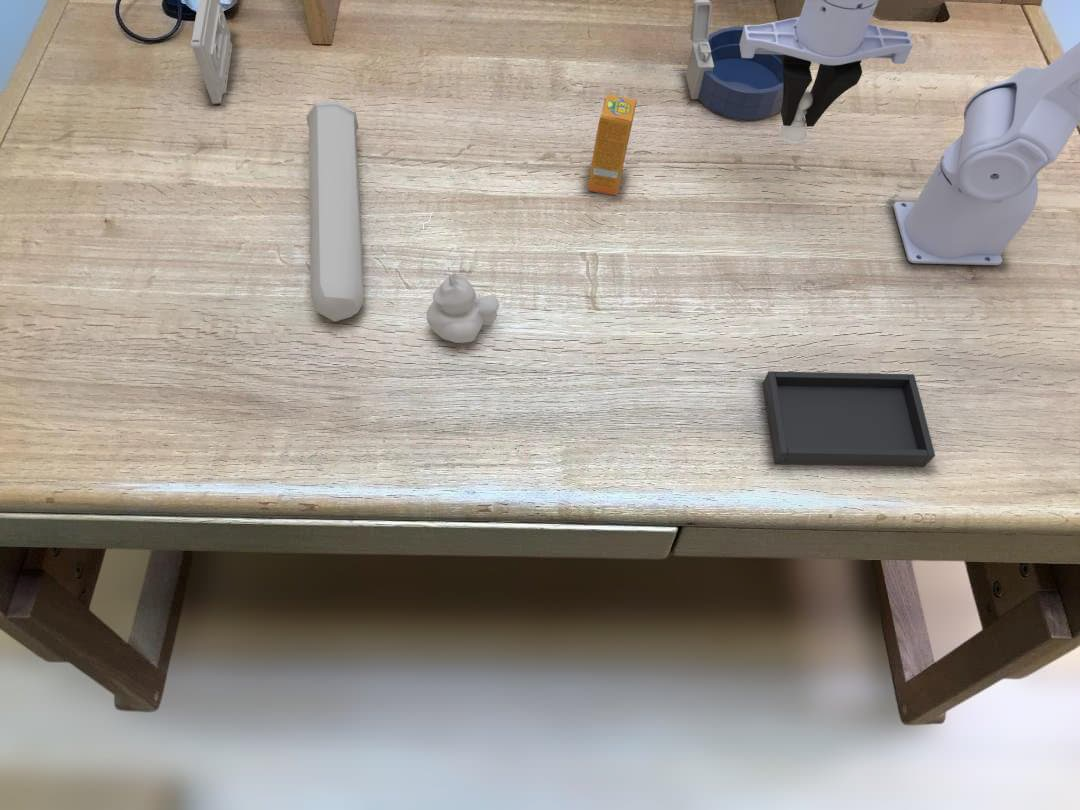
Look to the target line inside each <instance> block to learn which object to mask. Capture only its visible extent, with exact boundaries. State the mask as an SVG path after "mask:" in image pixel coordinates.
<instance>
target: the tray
mask: <svg viewBox="0 0 1080 810" xmlns="http://www.w3.org/2000/svg"><path fill="white" fill-rule="evenodd" d="M762 389H763V396H764V403H765V409H766V416H767V421H768V428H769V435H770V442H771V447H772V448H771V449H772V454H773V455H772V456H773V463H774V464H775V465H819V466H821V465H825V466H833V465H834V466H873V467H874V466H876V467H877V466H878V467H879V466H880V467H926V466H927V465H928V464H929V463H930V462H931V461H932V460H933V459H935V457H936V454H935V450H934V446H933V445H934V444H933V443H932V437H931V434H930V430H929V426H928V423H927V418H926V415H925V411H924V407H923V403H922V399H921V395H920V391H919V387H918V383H917V379H916V375H915V374H912V373H908V374H907V373H872V372H871V373H869V372H867V373H866V372H827V371H826V372H825V371H824V372H823V371H821V372H818V371H778V370H776V371H774V370H771V371H770V370H768V371H767V373H766V376H765V377H764V380H763V381H762Z"/></svg>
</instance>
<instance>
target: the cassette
mask: <svg viewBox="0 0 1080 810" xmlns="http://www.w3.org/2000/svg"><path fill="white" fill-rule="evenodd" d="M231 37H232V35H231V32H230V27H229V24H228V22H227V19H226V15H225V13H224V10H223V6H222V2H221V0H198V3H197V8H196V14H195V20H194V26H193V31H192V36H191V42H190V45H191V49H192V51H193V54H194V57H195V59H196V62H197V65H198V68H199V71H200V73H201V76H202V79H203V82H204V84H205V87H206V90H207V93H208V95H209V98H210V101H211V103H212V104H213V105H214V104H218V105H219V104H222V100H223V95H224V94H226V93H227V87H228V82H229V81H228V80H229V74H230V65H231V59H232V52H233V44H232V42H231Z"/></svg>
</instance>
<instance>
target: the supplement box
mask: <svg viewBox="0 0 1080 810" xmlns="http://www.w3.org/2000/svg"><path fill="white" fill-rule="evenodd" d="M637 103H638V101H637V100H635V99H632V98H628V97H624V96H619V95H615V94H608V93H606V94H605V98H604V102H603V107H602V111H601V113H600V116H599V119H598V124H597V131H596V136H595V141H594V147H593V153H592V160H591V165H590V172H589V178H588V184H587V185H588V186H587V189H588V191H589V192H594V193H600V194H604V195H605V194H606V195H611V196H617V195H618V193H619V190H620V185H621V182H622V174H623V171H624V165H625V161H626V160H625V159H626V156H627V155H626V154H627V149H628V145H629V140H630V135H631V131H632V126H633V121H634V117H635V112H636V107H637Z"/></svg>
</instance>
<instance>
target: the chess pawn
mask: <svg viewBox="0 0 1080 810" xmlns="http://www.w3.org/2000/svg"><path fill="white" fill-rule="evenodd" d="M810 92H811V91H809V90H806V91H805V93H804V94H803V96H802V98H801V100H800V103H799V106H798V109H797V112H796V115H795V118H794V121H793V123H792V124H791V126H784V125H783V124H781V125H780V126H779V127H778V129H777V135H778V137H779V138H780V139H781V141H783V142H785V143H787V144H790V145H798V144H799V145H800V144H802V143H804V142H805V141H806V140H807V138H808V134H807V133H808V132H807V130H808V129H807V128H808V127H807V125H806V120H805V115H806V114H807V110H806V109H808V108H809V107H810V106H811V105H812V103H813V95H812V94H811V93H810Z"/></svg>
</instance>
